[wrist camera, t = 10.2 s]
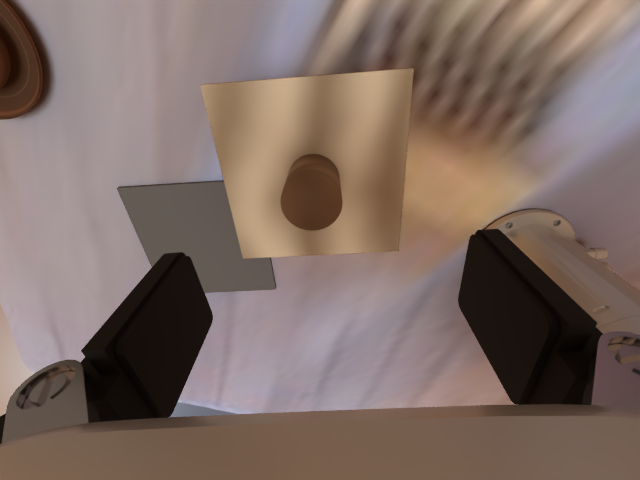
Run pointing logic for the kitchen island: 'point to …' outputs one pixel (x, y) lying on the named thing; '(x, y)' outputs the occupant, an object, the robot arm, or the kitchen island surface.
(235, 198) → the birch lid
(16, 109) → the cup and saucer
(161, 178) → the kitchen island surface
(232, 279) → the rubber mat
